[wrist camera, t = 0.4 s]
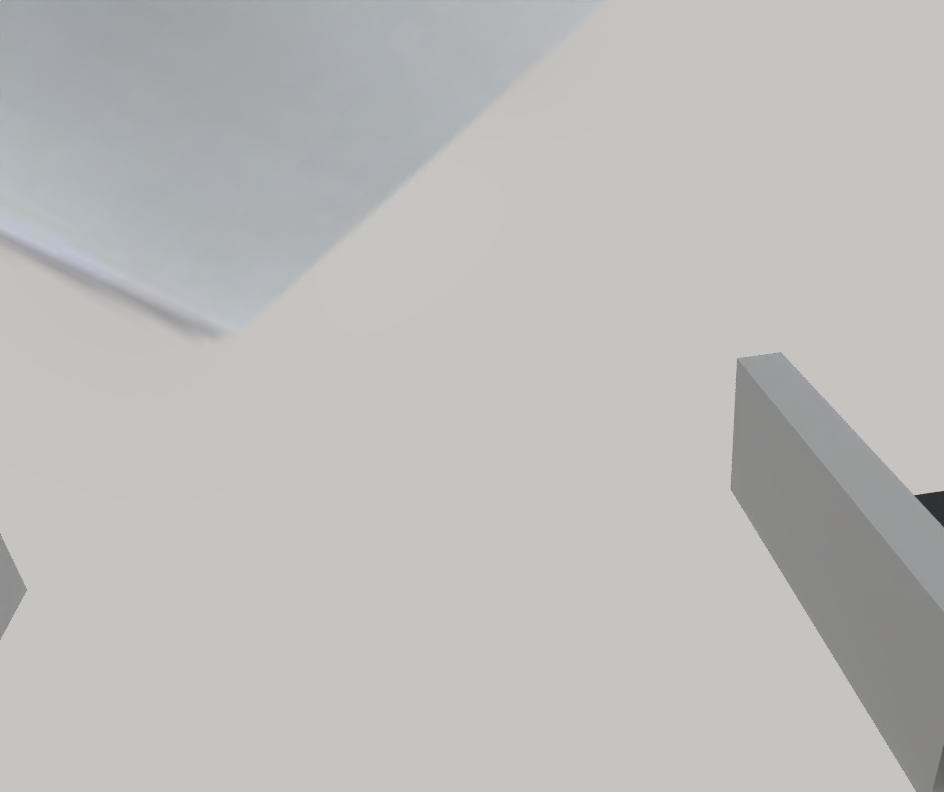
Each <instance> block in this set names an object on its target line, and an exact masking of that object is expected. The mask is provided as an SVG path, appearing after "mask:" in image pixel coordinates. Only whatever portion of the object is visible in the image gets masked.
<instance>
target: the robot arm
mask: <svg viewBox="0 0 944 792" xmlns="http://www.w3.org/2000/svg"><path fill="white" fill-rule="evenodd" d="M731 491H732V492H733V494H734V495H735V497H736V499H737V500H738V502H739V504H740V505H741V507H742V508H743V510H744V512H745V513H746V514H747V517H748V518H749V520H750V521H751V523H752V525H753V526H754V528H755V530H756V531H757V533H758V534H759V536H760V538H761V539H762V541H763V543H764V544H765V546H766V548H767V549H768V551H769V552H770V554H771V555H772V557H773V559H774V560H775V562H776V564H777V565H778V567H779V569H780V570H781V572H782V573H783V575H784V577H785V578H786V580H787V582H788V583H789V585H790V587H791V588H792V590H793V591H794V593H795V594H796V596H797V598H798V600H799V601H800V603H801V605H802V606H803V608H804V609H805V611H806V613H807V614H808V616H809V617H810V619H811V621H812V622H813V624H814V626H815V627H816V629H817V631H818V632H819V634H820V635H821V637H822V639H823V640H824V642H825V643H826V645H827V647H828V648H829V650H830V652H831V653H832V655H833V657H834V658H835V660H836V661H837V663H838V665H839V666H840V668H841V669H842V671H843V673H844V675H845V676H846V678H847V679H848V681H849V683H850V684H851V686H852V688H853V689H854V691H855V692H856V694H857V696H858V697H859V699H860V701H861V702H862V704H863V705H864V707H865V709H866V710H867V712H868V714H869V715H870V717H871V718H872V720H873V721H874V723H875V725H876V727H877V728H878V730H879V732H880V733H881V735H882V736H883V738H884V739H885V741H886V743H887V745H888V746H889V748H890V749H891V751H892V753H893V754H894V756H895V758H896V759H897V761H898V762H899V764H900V766H901V767H902V769H903V771H904V772H905V774H906V775H907V777H908V779H909V780H910V782H911V784H912V785H913V787H914V788H915V790H916V792H944V491H941V492H934V493H927V494H920V495H913V494H912V493H911V492H910V491H909V489H908V488H906V486H905V485H904V484H903V483H902V482H901V481H900V480H899V479H898V478H897V477H896V476H895V474H894V473H893V472H892V471H891V470H890V469H889V468H888V467H887V466H886V465H885V464H884V463H883V462H882V461H881V459H880V458H879V457H878V456H877V455H876V454H875V453H874V452H873V451H872V450H871V449H870V448H869V446H868V445H867V444H866V443H865V442H864V441H863V440H862V439H861V438H860V437H859V436H858V435H857V434H856V432H855V431H854V430H853V429H851V427H850V426H849V425H848V424H847V423H846V422H845V421H844V420H843V419H842V417H841V416H840V415H839V414H838V413H837V412H836V411H835V410H834V409H833V408H832V407H831V406H830V405H829V403H828V402H827V401H826V400H825V399H824V398H823V397H822V396H821V395H820V394H819V393H818V392H817V391H816V389H815V388H814V387H813V386H812V385H811V384H810V383H809V382H808V381H807V380H806V379H805V378H804V377H803V375H802V374H800V372H799V371H798V370H797V369H796V368H795V367H794V366H793V365H792V364H791V363H790V362H789V360H788V359H787V358H786V357H785V356H784V355H783V354H782V353H781V352H780V353H773V354H766V355H759V356H752V357H745V358H738V359H737V374H736V393H735V414H734V435H733V454H732V475H731ZM26 591H27V589H26V586H25V585H24V582H23V580H22V578H21V576H20V574H19V572H18V570H17V568H16V566H15V564H14V562H13V559H12V557H11V555H10V553H9V551H8V549H7V547H6V545H5V543H4V541H3V539H2V536H1V534H0V639H1V637H2V635H3V633H4V632H5V630H6V628H7V626H8V624H9V622H10V621H11V619H12V617H13V615H14V613H15V611H16V609H17V608H18V606H19V604H20V602H21V600H22V598H23V596H24V595H25V593H26Z"/></svg>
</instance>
